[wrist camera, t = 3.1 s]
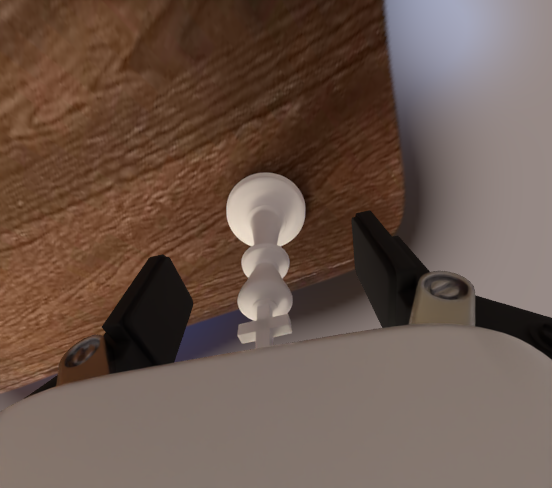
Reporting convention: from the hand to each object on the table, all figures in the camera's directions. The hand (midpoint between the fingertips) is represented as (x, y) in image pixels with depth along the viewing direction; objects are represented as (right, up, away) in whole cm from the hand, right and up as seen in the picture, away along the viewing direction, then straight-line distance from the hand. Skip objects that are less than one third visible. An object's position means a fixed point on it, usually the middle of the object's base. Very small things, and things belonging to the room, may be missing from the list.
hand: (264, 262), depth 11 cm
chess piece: (0, +3, +5) cm, 6 cm away
